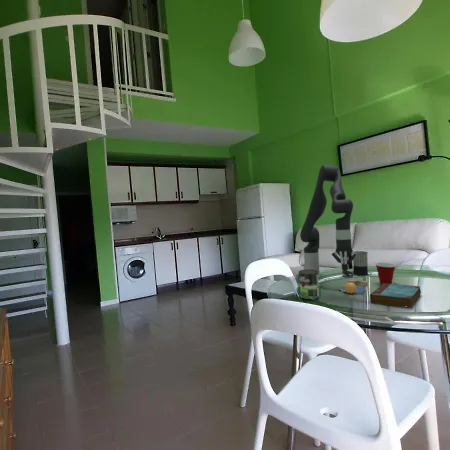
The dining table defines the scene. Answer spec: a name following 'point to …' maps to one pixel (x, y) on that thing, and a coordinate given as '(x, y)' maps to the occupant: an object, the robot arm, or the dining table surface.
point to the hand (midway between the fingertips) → (345, 270)
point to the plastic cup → (385, 272)
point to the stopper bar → (358, 282)
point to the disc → (357, 290)
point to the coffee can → (309, 282)
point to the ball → (350, 287)
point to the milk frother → (358, 264)
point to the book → (396, 295)
